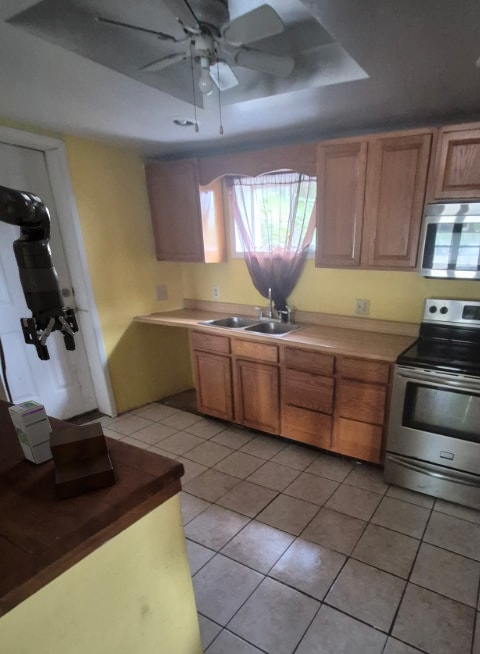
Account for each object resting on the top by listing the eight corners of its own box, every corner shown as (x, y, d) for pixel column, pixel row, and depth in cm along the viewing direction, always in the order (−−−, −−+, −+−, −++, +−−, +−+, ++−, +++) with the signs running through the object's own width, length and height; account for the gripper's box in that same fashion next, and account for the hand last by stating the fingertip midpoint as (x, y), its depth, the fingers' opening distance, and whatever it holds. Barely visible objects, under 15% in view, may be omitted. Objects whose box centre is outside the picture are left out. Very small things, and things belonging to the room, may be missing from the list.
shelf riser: (60, 499, 80) (49, 464, 76) (58, 464, 92) (49, 432, 88) (116, 483, 85) (108, 449, 81) (107, 452, 97) (100, 421, 94)
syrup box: (60, 454, 96) (45, 403, 90) (35, 465, 91) (18, 412, 86) (48, 448, 99) (33, 398, 93) (24, 459, 94) (6, 407, 88)
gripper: (51, 284, 93) (66, 346, 99) (0, 290, 80) (21, 362, 86) (78, 285, 92) (91, 348, 98) (30, 292, 79) (49, 364, 85)
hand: (58, 355), depth 92 cm, fingers open, 8 cm apart
